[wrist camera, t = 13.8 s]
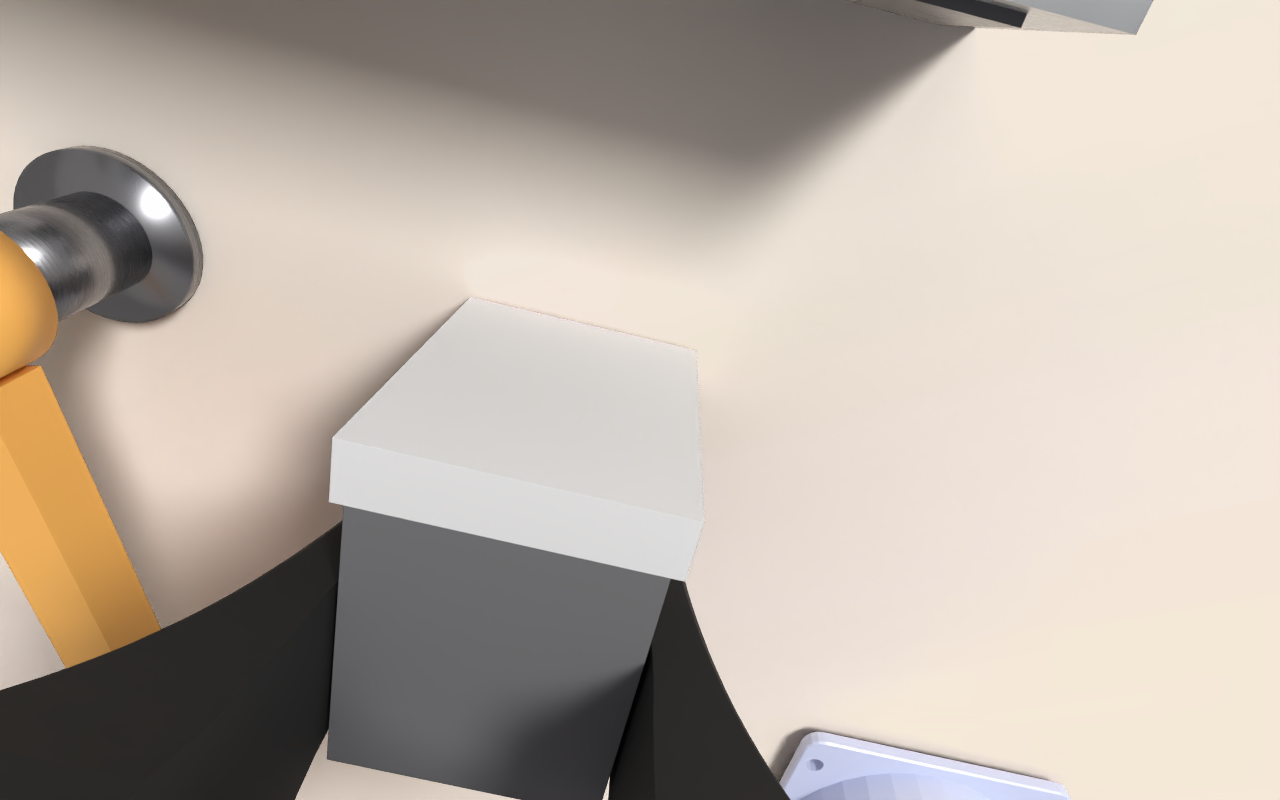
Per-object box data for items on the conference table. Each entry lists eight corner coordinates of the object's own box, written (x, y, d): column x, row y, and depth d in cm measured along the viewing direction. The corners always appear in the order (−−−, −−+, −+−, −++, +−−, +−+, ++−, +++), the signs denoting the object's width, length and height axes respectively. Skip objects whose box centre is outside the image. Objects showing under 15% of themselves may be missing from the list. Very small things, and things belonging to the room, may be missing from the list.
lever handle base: (208, 332, 16) (103, 400, 13) (46, 294, 16) (-95, 354, 13) (196, 170, 14) (73, 208, 11) (14, 126, 14) (-157, 153, 11)
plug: (611, 648, 19) (578, 911, 13) (428, 608, 19) (308, 856, 13) (696, 350, 15) (704, 522, 9) (470, 296, 15) (331, 436, 9)
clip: (196, 852, 20) (161, 912, 19) (-149, 205, 11) (-257, 230, 10) (293, 859, 20) (264, 919, 18) (15, 206, 11) (-76, 231, 10)
